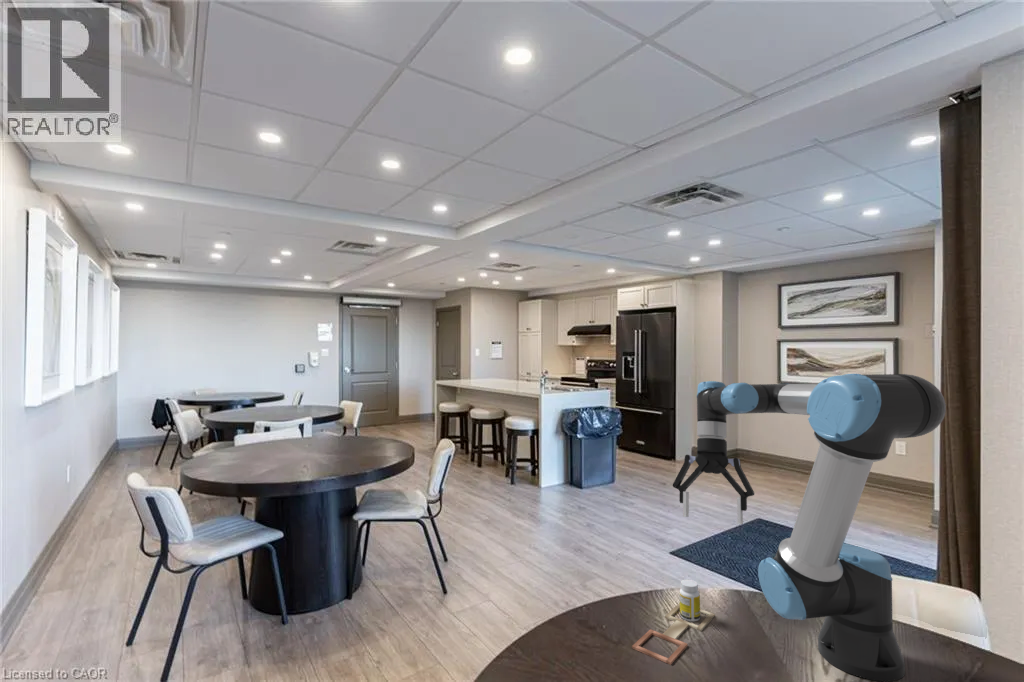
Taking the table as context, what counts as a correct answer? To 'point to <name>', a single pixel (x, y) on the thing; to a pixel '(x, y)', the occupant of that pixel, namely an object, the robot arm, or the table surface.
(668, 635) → the linked wooden frames
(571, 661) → the table surface
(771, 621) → the table surface
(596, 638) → the table surface
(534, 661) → the table surface
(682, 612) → the supplement bottle
